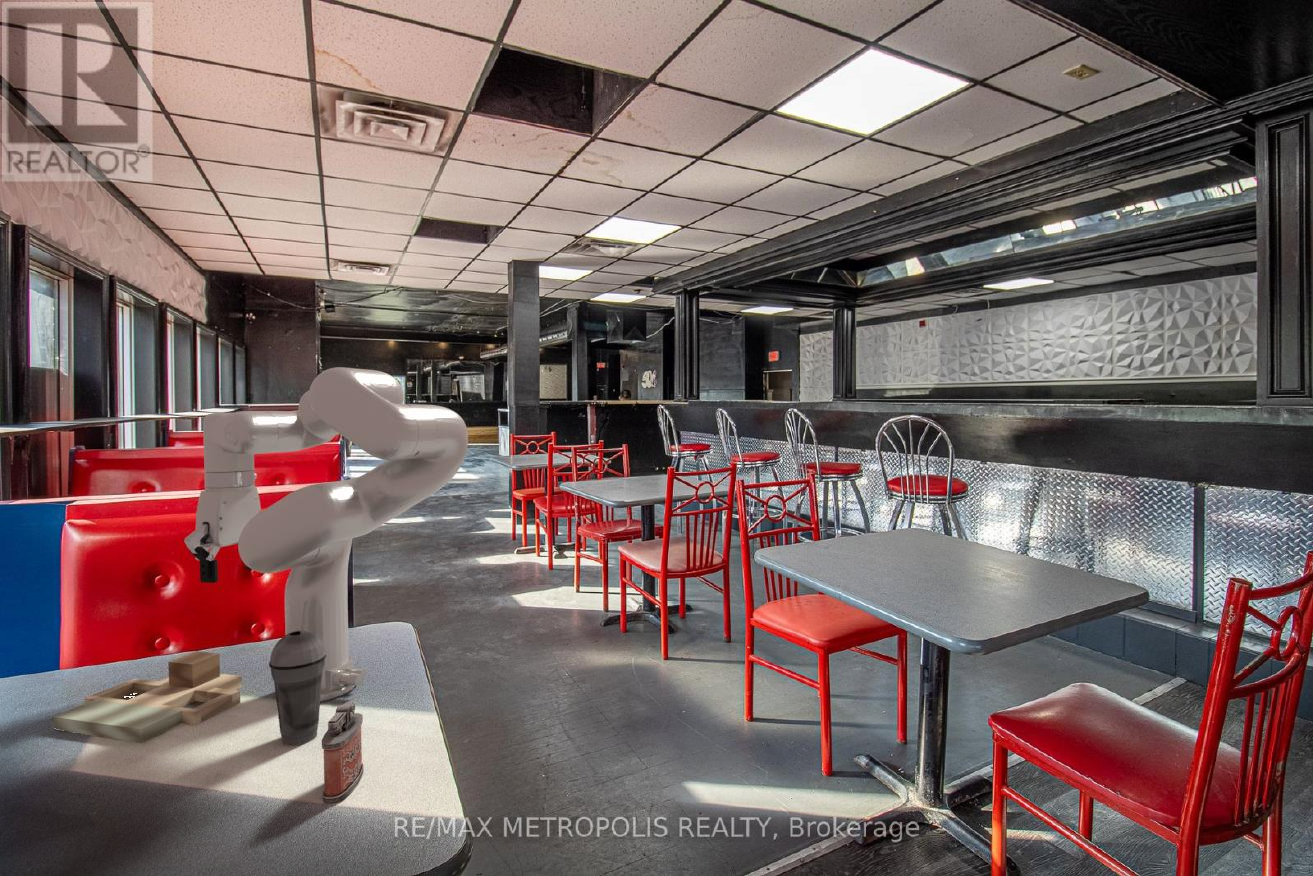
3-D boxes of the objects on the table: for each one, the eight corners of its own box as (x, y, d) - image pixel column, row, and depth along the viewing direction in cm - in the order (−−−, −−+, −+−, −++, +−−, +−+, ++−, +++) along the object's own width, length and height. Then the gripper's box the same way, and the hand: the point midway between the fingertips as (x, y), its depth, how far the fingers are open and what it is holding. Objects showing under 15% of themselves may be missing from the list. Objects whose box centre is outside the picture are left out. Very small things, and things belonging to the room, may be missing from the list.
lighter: (342, 769, 85) (341, 694, 85) (369, 768, 85) (367, 693, 85) (316, 805, 77) (314, 723, 77) (345, 804, 77) (343, 722, 77)
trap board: (265, 690, 110) (265, 678, 110) (155, 745, 92) (155, 731, 92) (164, 678, 115) (164, 667, 115) (40, 728, 97) (40, 715, 97)
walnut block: (220, 676, 111) (219, 653, 111) (192, 688, 106) (192, 664, 106) (196, 674, 112) (196, 651, 112) (169, 685, 107) (168, 661, 107)
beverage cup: (274, 731, 95) (271, 598, 95) (329, 722, 98) (326, 592, 98) (266, 755, 89) (263, 611, 88) (325, 744, 92) (323, 605, 91)
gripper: (253, 476, 125) (255, 564, 126) (166, 485, 108) (170, 587, 109) (285, 477, 123) (287, 566, 124) (203, 486, 107) (206, 589, 107)
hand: (232, 575), depth 116 cm, fingers open, 9 cm apart
